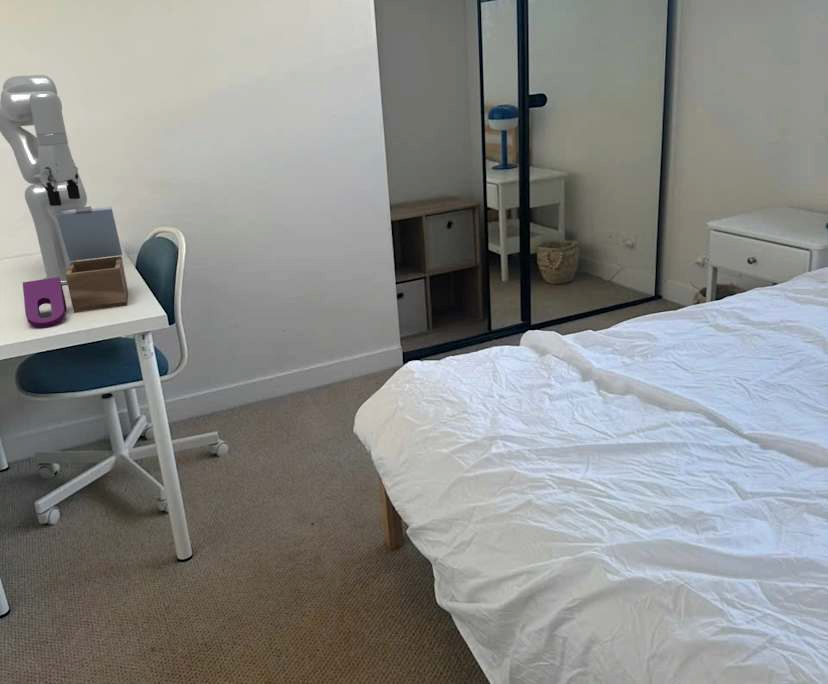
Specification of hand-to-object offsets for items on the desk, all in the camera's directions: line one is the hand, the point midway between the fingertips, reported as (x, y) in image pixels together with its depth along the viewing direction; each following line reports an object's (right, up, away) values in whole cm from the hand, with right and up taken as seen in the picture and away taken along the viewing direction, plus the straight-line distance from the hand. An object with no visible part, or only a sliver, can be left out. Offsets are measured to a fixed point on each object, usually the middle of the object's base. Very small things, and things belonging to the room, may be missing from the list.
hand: (65, 202), depth 210 cm
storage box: (+8, -28, +6) cm, 30 cm away
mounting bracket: (-1, -34, -7) cm, 34 cm away
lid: (+6, -9, +3) cm, 11 cm away
